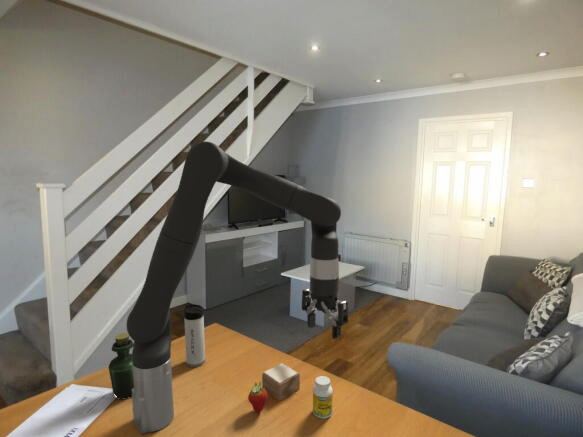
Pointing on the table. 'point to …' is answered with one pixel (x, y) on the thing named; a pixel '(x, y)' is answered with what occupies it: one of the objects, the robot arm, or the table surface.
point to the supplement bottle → (322, 397)
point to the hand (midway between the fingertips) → (323, 332)
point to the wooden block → (281, 381)
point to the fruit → (258, 397)
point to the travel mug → (194, 335)
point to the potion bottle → (122, 367)
